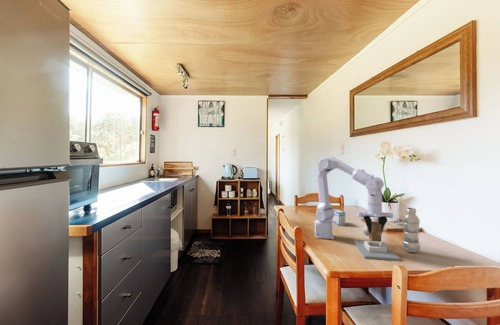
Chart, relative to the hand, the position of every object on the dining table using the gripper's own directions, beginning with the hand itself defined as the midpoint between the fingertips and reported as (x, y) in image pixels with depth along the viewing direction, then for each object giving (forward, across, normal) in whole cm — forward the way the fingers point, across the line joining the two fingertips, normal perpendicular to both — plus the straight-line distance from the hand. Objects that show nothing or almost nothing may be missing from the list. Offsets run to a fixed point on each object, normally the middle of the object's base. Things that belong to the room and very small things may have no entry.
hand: (374, 232), depth 103 cm
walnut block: (+3, 0, 0) cm, 4 cm away
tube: (+9, +9, +32) cm, 35 cm away
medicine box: (+9, -8, +41) cm, 43 cm away
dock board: (+9, 0, 0) cm, 9 cm away
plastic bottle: (+9, +16, +2) cm, 18 cm away
